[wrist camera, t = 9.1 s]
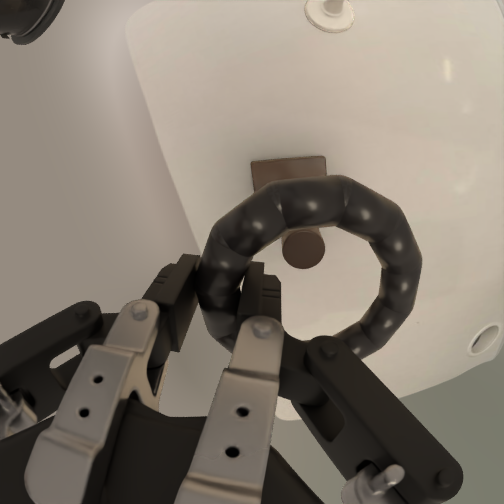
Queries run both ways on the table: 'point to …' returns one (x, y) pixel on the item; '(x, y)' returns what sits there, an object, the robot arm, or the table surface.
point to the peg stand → (297, 241)
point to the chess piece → (330, 14)
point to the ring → (306, 217)
